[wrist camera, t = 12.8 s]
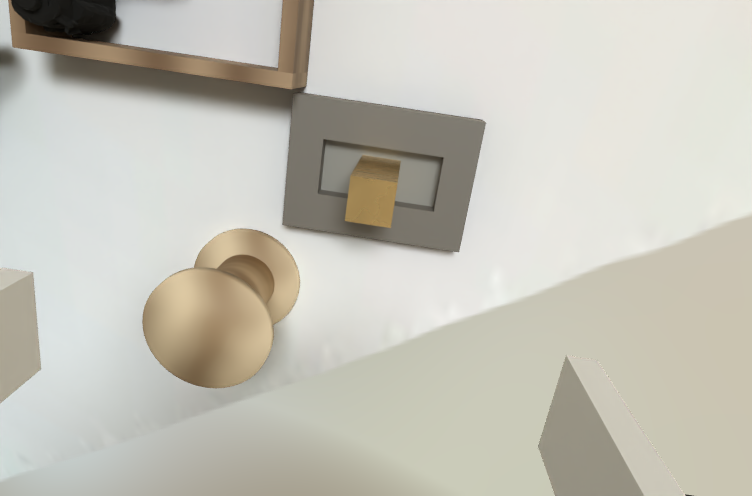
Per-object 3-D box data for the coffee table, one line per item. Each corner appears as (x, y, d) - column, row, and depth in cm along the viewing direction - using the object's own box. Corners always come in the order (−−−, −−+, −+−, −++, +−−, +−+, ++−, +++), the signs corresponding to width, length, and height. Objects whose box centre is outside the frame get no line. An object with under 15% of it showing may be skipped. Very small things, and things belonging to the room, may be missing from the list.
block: (362, 154, 40) (350, 175, 33) (400, 160, 40) (397, 182, 33) (357, 192, 41) (344, 220, 34) (395, 198, 41) (390, 228, 34)
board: (288, 217, 43) (282, 224, 41) (299, 92, 40) (293, 93, 38) (457, 243, 43) (458, 252, 41) (482, 119, 39) (485, 122, 37)
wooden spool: (196, 316, 47) (143, 377, 38) (198, 221, 44) (141, 262, 35) (295, 332, 46) (266, 397, 37) (304, 237, 43) (275, 283, 34)
